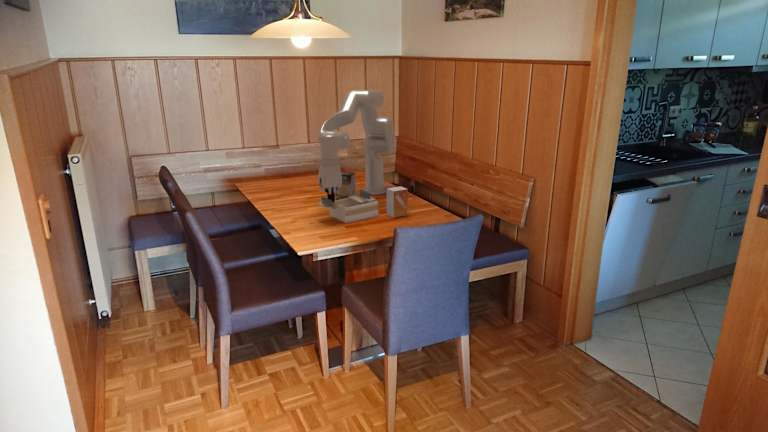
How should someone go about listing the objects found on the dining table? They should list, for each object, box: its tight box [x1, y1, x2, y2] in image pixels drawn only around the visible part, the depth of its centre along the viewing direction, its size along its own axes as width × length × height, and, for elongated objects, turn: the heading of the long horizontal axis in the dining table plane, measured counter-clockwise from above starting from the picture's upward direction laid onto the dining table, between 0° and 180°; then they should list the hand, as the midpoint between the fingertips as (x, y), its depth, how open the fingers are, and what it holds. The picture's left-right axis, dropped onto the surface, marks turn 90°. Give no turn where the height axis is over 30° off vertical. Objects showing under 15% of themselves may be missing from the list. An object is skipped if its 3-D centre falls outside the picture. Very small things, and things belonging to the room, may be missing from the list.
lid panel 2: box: [348, 189, 377, 203], centre depth 241 cm, size 9×11×4 cm
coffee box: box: [335, 171, 357, 201], centre depth 259 cm, size 9×6×16 cm
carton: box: [329, 198, 379, 224], centre depth 240 cm, size 18×14×7 cm
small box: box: [385, 185, 409, 219], centre depth 240 cm, size 8×6×13 cm
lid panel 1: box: [315, 196, 345, 211], centre depth 231 cm, size 9×11×4 cm
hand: (331, 201), depth 232 cm, fingers closed
